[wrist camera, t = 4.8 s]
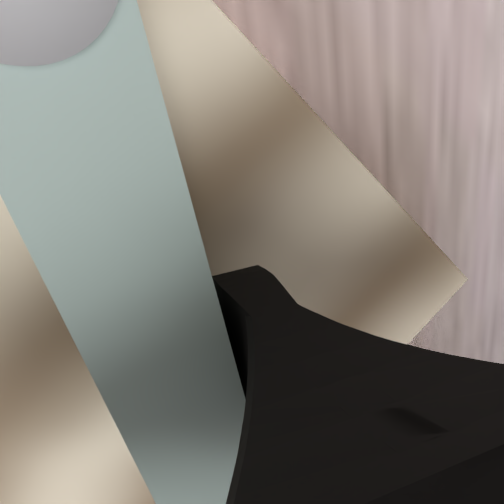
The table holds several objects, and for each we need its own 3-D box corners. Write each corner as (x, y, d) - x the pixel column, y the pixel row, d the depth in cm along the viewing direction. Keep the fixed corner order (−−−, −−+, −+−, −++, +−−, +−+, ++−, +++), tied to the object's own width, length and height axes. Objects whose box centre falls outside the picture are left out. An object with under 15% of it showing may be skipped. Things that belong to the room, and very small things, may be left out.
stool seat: (427, 254, 16) (550, 329, 12) (202, 503, 18) (239, 648, 13) (-116, -311, 7) (-445, -896, 3) (-487, 314, 8) (-1074, 586, 4)
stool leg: (-83, -99, 6) (-217, -215, 4) (80, -120, 7) (76, -237, 4) (160, 447, 12) (181, 564, 10) (237, 415, 13) (279, 517, 10)
